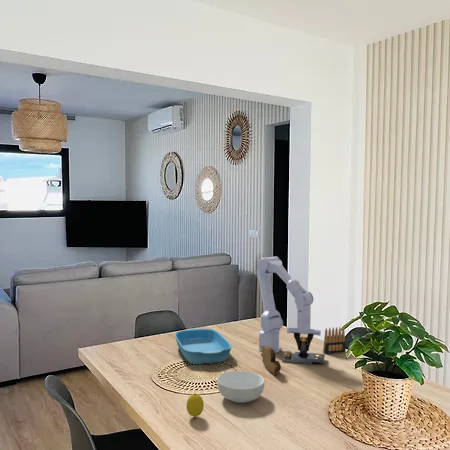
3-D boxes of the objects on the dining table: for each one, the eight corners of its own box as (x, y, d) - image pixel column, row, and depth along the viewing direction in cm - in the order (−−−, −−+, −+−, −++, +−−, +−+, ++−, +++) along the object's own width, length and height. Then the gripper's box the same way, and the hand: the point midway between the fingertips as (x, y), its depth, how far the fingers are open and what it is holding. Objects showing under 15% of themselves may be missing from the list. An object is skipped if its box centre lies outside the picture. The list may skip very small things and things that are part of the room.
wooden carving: (285, 377, 180) (285, 352, 179) (274, 378, 178) (275, 354, 178) (266, 363, 195) (266, 340, 195) (257, 365, 194) (257, 342, 193)
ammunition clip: (343, 350, 212) (344, 325, 212) (345, 352, 211) (346, 326, 210) (323, 352, 210) (323, 327, 209) (325, 354, 208) (325, 328, 207)
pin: (299, 356, 198) (299, 338, 197) (300, 354, 201) (300, 336, 200) (306, 357, 197) (307, 339, 197) (307, 354, 200) (307, 337, 200)
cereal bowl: (249, 413, 149) (249, 392, 148) (207, 401, 158) (208, 381, 157) (272, 395, 163) (272, 376, 163) (233, 385, 172) (233, 366, 172)
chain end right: (293, 362, 196) (293, 356, 196) (295, 356, 204) (295, 350, 204) (323, 365, 193) (323, 358, 193) (324, 359, 201) (324, 352, 200)
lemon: (186, 413, 148) (186, 390, 148) (203, 413, 149) (203, 389, 148) (186, 421, 143) (186, 397, 143) (203, 421, 143) (203, 396, 143)
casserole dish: (237, 365, 194) (237, 348, 194) (187, 370, 187) (187, 353, 187) (214, 340, 229) (214, 326, 229) (170, 344, 222) (170, 329, 222)
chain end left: (281, 361, 198) (281, 354, 197) (284, 355, 205) (284, 349, 205) (311, 364, 194) (311, 357, 194) (313, 358, 202) (313, 351, 202)
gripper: (286, 320, 196) (285, 351, 197) (320, 323, 192) (319, 354, 193) (288, 316, 203) (287, 346, 204) (321, 319, 199) (320, 349, 200)
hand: (303, 350), depth 199 cm, fingers closed on pin, 3 cm apart
